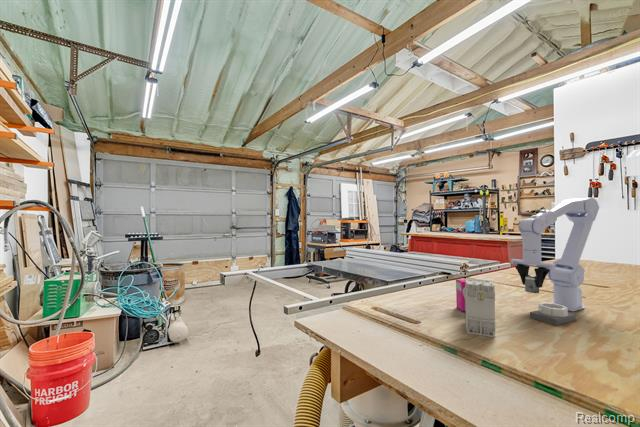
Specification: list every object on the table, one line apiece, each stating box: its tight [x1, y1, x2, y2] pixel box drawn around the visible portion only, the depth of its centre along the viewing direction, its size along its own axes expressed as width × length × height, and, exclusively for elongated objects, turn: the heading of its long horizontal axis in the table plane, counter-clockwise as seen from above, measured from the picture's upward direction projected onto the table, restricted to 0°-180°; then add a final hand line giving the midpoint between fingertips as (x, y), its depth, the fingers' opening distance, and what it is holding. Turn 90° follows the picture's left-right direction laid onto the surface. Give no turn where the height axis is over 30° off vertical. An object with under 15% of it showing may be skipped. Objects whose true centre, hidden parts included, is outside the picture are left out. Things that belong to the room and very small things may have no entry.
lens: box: [524, 274, 540, 294], centre depth 108 cm, size 4×4×6 cm
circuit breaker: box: [464, 278, 496, 338], centre depth 92 cm, size 8×14×15 cm, turn 155°
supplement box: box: [455, 278, 466, 313], centre depth 108 cm, size 6×6×12 cm
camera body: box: [529, 302, 577, 326], centre depth 99 cm, size 12×8×4 cm, turn 115°
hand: (532, 285), depth 108 cm, fingers closed on lens, 4 cm apart
